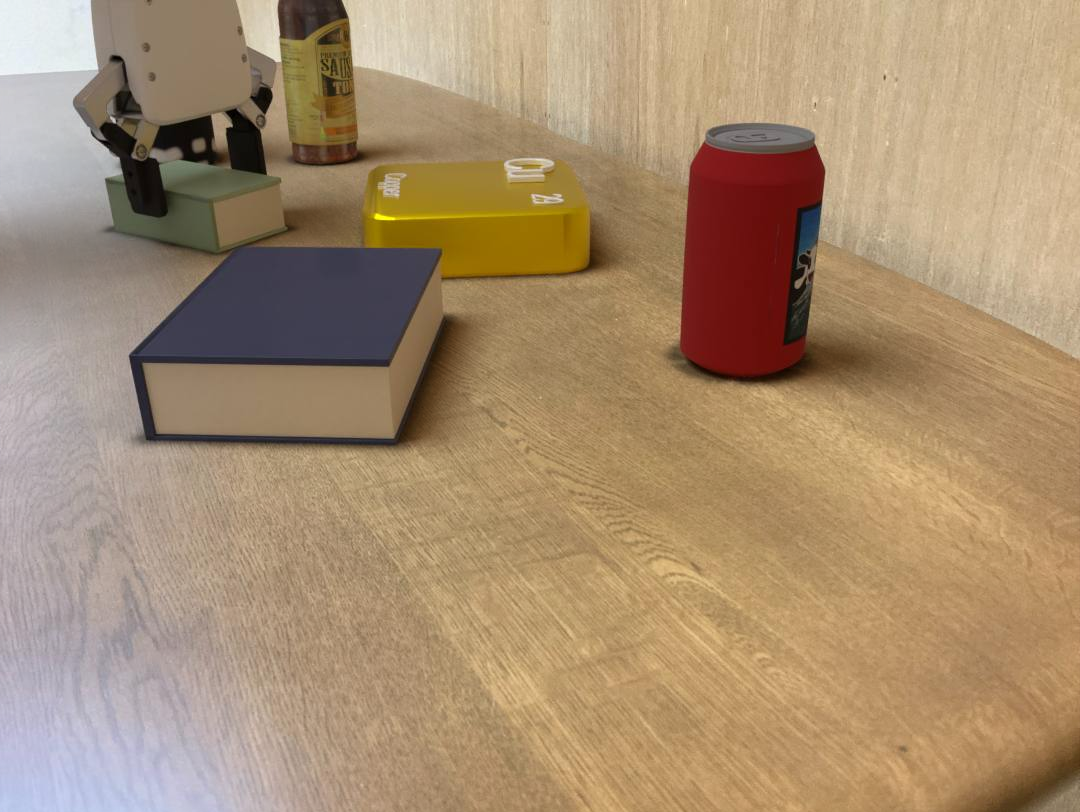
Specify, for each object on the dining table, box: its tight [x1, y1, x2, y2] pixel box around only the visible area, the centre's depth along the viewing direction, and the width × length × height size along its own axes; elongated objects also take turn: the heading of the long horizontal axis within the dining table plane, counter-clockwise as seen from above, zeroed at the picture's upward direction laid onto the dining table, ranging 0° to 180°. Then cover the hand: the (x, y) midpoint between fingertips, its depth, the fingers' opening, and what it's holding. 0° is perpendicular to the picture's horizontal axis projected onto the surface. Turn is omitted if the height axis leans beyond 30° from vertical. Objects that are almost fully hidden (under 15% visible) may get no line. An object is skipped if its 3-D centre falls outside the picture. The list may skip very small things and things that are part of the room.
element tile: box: [361, 157, 591, 279], centre depth 80 cm, size 15×15×5 cm
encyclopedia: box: [128, 245, 447, 446], centre depth 60 cm, size 12×17×4 cm
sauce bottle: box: [276, 0, 359, 166], centre depth 100 cm, size 7×6×20 cm
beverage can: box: [679, 122, 826, 378], centre depth 59 cm, size 7×7×12 cm
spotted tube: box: [114, 115, 219, 166], centre depth 100 cm, size 8×8×20 cm
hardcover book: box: [104, 160, 288, 254], centre depth 84 cm, size 11×7×4 cm, turn 56°
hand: (202, 198), depth 84 cm, fingers open, 9 cm apart
